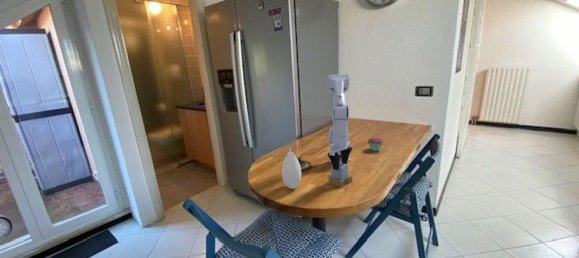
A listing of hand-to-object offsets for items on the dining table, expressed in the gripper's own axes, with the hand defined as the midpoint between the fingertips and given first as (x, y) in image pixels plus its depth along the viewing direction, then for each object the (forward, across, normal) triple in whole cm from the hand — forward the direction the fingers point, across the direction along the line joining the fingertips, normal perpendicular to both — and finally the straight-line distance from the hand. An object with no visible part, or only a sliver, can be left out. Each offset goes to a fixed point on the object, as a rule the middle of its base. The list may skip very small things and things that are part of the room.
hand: (340, 166), depth 105 cm
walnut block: (+7, 0, 0) cm, 7 cm away
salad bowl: (+8, -4, -25) cm, 26 cm away
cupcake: (+7, -48, -3) cm, 48 cm away
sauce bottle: (+7, +16, -14) cm, 22 cm away
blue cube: (+4, 0, 0) cm, 4 cm away
